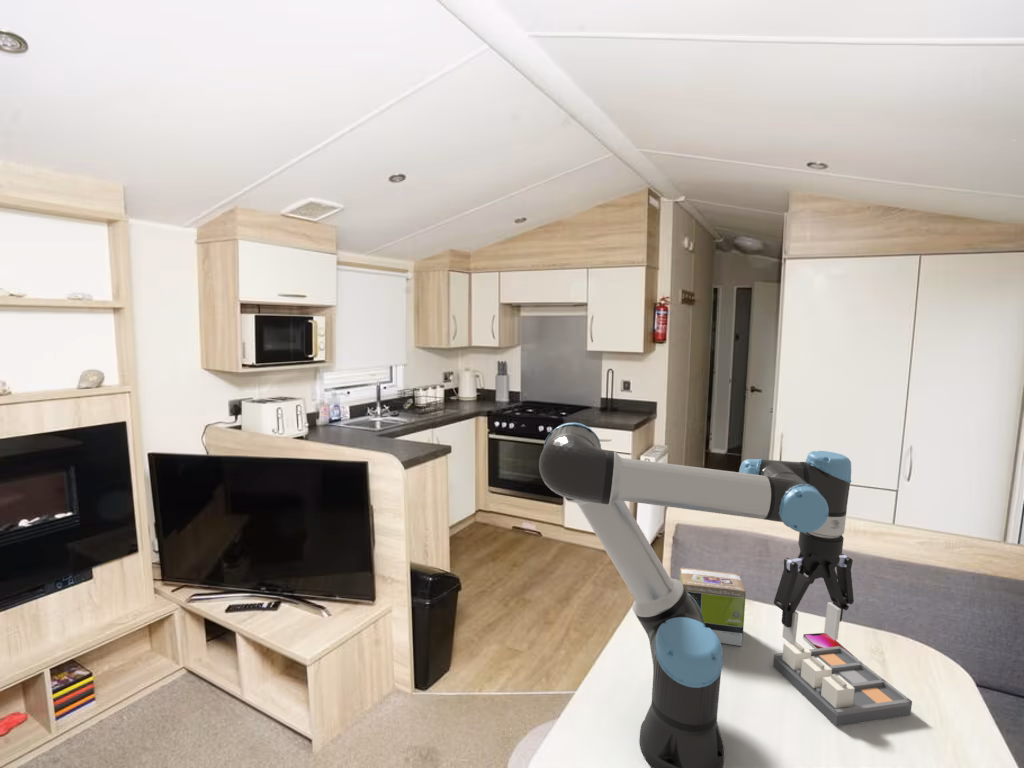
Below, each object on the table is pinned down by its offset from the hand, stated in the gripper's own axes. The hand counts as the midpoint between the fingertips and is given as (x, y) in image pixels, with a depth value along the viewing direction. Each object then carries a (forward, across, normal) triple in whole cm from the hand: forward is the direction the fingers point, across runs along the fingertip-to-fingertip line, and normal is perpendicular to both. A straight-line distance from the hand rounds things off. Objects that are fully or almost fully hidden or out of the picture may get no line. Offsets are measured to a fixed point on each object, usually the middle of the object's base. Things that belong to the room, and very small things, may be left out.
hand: (809, 638), depth 110 cm
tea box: (+18, -2, +31) cm, 36 cm away
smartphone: (+18, +24, +17) cm, 34 cm away
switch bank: (+17, +14, +6) cm, 23 cm away
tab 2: (+15, +8, +6) cm, 18 cm away
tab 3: (+15, +8, 0) cm, 17 cm away
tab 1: (+15, +8, +12) cm, 21 cm away
